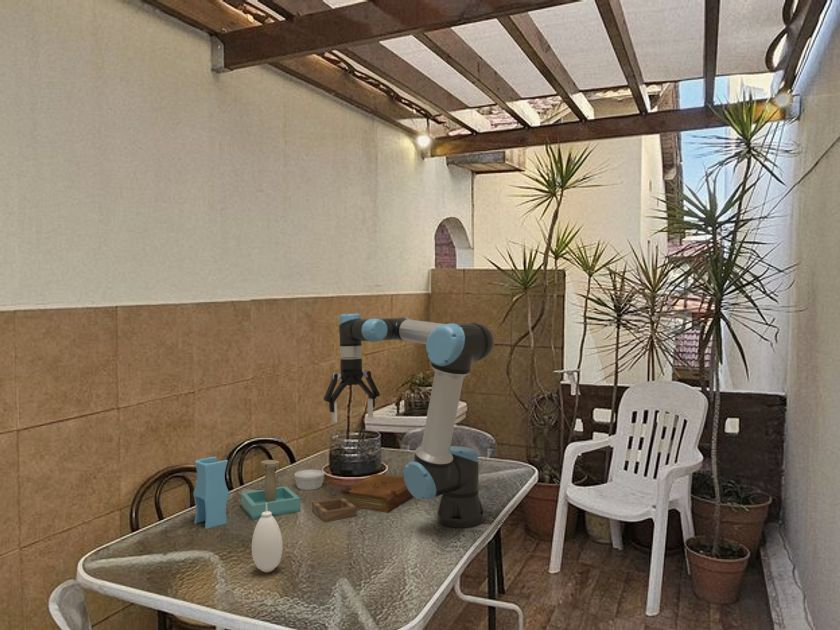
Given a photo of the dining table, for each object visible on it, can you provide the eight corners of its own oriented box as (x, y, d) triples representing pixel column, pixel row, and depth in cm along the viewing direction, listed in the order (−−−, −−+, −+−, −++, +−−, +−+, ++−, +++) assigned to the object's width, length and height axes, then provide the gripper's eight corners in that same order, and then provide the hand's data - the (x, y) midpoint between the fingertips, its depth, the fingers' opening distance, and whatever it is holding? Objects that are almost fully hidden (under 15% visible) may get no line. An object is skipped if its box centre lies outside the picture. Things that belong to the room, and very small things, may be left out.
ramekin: (330, 485, 240) (330, 471, 239) (310, 492, 230) (310, 478, 230) (308, 481, 246) (308, 467, 245) (288, 488, 236) (288, 474, 236)
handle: (274, 509, 209) (274, 464, 209) (258, 506, 211) (257, 462, 211) (282, 504, 214) (282, 461, 213) (266, 502, 216) (266, 459, 215)
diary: (387, 514, 207) (387, 497, 207) (340, 507, 215) (340, 490, 215) (419, 494, 227) (419, 479, 227) (375, 488, 236) (375, 473, 236)
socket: (356, 516, 204) (356, 507, 204) (324, 522, 199) (324, 512, 199) (343, 505, 214) (342, 497, 214) (312, 511, 209) (312, 502, 209)
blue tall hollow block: (229, 522, 200) (228, 460, 199) (206, 529, 194) (205, 465, 193) (216, 516, 205) (215, 456, 204) (193, 523, 199) (192, 460, 199)
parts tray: (300, 511, 209) (300, 498, 209) (252, 519, 202) (252, 506, 201) (286, 498, 223) (286, 486, 223) (241, 506, 216) (240, 493, 216)
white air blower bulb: (284, 575, 160) (282, 505, 160) (252, 579, 158) (251, 508, 157) (281, 563, 168) (280, 496, 167) (251, 566, 165) (250, 499, 165)
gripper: (378, 355, 226) (380, 414, 226) (313, 360, 213) (315, 422, 213) (388, 356, 219) (389, 416, 219) (321, 361, 207) (323, 425, 206)
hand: (352, 419), depth 216 cm, fingers open, 13 cm apart
